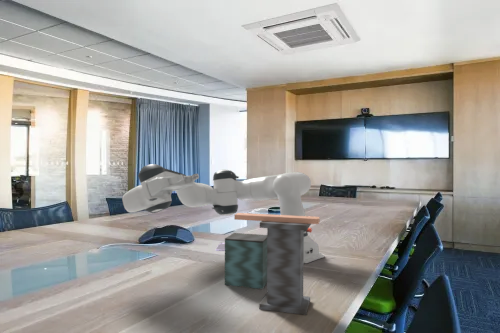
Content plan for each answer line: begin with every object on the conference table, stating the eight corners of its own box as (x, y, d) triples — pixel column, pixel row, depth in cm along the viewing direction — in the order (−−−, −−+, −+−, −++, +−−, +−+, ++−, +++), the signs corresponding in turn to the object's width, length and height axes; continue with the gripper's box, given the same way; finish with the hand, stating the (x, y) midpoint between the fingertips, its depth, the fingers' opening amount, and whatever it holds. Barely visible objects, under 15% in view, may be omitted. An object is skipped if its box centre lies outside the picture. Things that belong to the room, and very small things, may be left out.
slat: (234, 219, 110) (234, 214, 110) (238, 217, 114) (238, 212, 114) (318, 224, 102) (318, 219, 102) (319, 221, 106) (319, 216, 106)
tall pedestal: (259, 308, 105) (259, 222, 104) (267, 296, 115) (267, 217, 114) (306, 314, 101) (306, 225, 100) (310, 301, 111) (310, 219, 110)
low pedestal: (224, 284, 125) (224, 238, 125) (233, 275, 135) (233, 232, 134) (262, 288, 121) (262, 241, 121) (269, 279, 131) (269, 235, 130)
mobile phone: (215, 249, 172) (219, 242, 187) (215, 251, 172) (219, 244, 187) (230, 249, 171) (233, 242, 186) (230, 251, 171) (233, 244, 186)
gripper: (178, 195, 135) (208, 183, 130) (143, 200, 116) (176, 186, 111) (173, 180, 135) (202, 167, 131) (138, 182, 116) (170, 168, 112)
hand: (190, 176), depth 121 cm, fingers open, 8 cm apart
